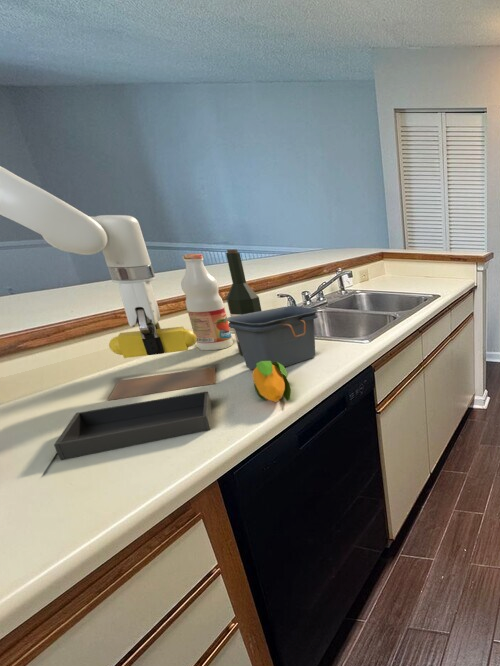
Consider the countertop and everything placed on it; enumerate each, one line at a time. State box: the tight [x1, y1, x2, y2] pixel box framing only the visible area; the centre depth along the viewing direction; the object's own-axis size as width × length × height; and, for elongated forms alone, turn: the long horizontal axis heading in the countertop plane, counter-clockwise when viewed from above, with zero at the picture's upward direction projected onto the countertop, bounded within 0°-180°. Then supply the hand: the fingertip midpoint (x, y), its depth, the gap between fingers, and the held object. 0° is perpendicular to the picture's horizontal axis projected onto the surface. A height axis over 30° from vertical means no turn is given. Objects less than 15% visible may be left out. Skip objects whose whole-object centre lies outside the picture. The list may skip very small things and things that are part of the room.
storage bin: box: [226, 305, 319, 371], centre depth 117 cm, size 21×16×14 cm
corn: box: [252, 361, 292, 403], centre depth 98 cm, size 7×8×20 cm
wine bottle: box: [225, 248, 263, 357], centre depth 123 cm, size 8×8×30 cm
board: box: [107, 366, 216, 402], centre depth 105 cm, size 20×14×1 cm
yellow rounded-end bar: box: [108, 326, 197, 359], centre depth 101 cm, size 16×4×5 cm, turn 123°
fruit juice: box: [180, 253, 234, 351], centre depth 128 cm, size 9×9×28 cm
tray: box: [53, 390, 212, 461], centre depth 82 cm, size 21×14×4 cm
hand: (157, 350), depth 102 cm, fingers closed on yellow rounded-end bar, 4 cm apart
